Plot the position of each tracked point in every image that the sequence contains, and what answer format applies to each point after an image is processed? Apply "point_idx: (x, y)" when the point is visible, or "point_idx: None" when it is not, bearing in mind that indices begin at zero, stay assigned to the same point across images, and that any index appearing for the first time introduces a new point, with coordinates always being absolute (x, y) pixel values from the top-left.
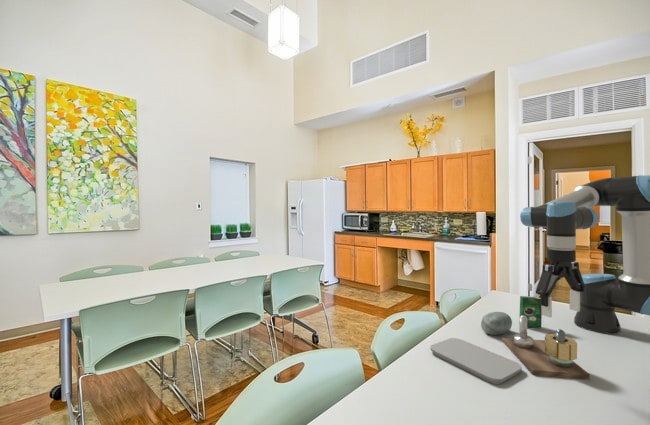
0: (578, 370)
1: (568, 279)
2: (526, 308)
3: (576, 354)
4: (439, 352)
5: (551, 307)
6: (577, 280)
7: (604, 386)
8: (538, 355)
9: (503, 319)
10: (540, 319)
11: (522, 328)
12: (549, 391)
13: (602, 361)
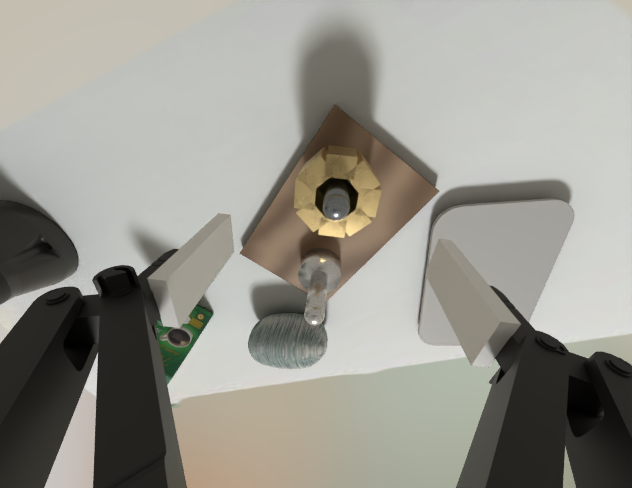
0: (337, 133)
1: (170, 432)
2: (181, 345)
3: (329, 147)
4: None
5: (464, 268)
6: (53, 382)
7: (341, 63)
8: None
9: (285, 340)
10: None
11: (325, 293)
12: (493, 122)
13: (201, 140)
